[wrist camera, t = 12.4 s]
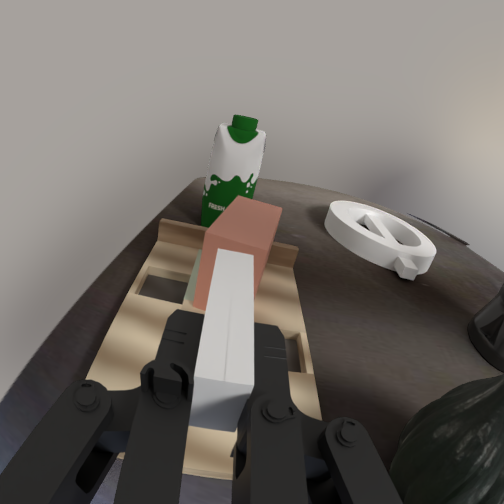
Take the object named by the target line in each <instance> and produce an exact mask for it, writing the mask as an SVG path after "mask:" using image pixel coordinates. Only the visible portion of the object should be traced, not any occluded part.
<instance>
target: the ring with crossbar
mask: <svg viewBox="0 0 504 504" xmlns="http://www.w3.org/2000/svg"><path fill="white" fill-rule="evenodd" d="M359 224H362V225H366V226H367V227H368V229H369V230H370V231H369V230H367V229H365V228H364V227H362V226H361V225H359ZM324 225H325V228H326V230H327V231H328V233H329V234H330V235H331V236H332V237H333V238H334V239H335V240H336V241H338V242H339V243H340V244H341V245H343V246H344V247H346V248H347V249H348V250H350V251H352V252H353V253H355V254H357V255H358V256H360V257H362V258H364V259H366V260H368V261H370V262H372V263H374V264H377V265H379V266H382V267H384V268H387V269H390V270H393V271H396V272H397V273H398V274H399V276H400V277H401V278H405V279H409V280H413V281H414V279H415V277H416V275H417V274H423V273H425V272H426V271H427V270H428V268H429V266H430V264H431V262H432V260H433V258H434V256H435V254H436V248H435V246H434V245H433V243H432V242H431V241H430V240H429V239H428V238H427V237H426V236H425V235H424V234H422V233H421V232H420V231H418V230H417V229H416V228H414V227H413V226H411V225H409V224H408V223H406V222H404V221H403V220H401V219H399V218H397V217H395V216H393V215H391V214H389V213H386V212H384V211H381V210H379V209H376V208H373V207H371V206H367V205H364V204H360V203H356V202H351V201H334V202H332V203H331V204H330V207H329V210H328V213H327V216H326V219H325V222H324ZM395 239H397V240H398V241H400V242H401V243H402V244H404V245H402V244H399V243H398V242H397V241H396V240H395Z"/></svg>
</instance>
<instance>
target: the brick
mask: <svg viewBox="0 0 504 504" xmlns="http://www.w3.org/2000/svg"><path fill="white" fill-rule="evenodd" d="M282 209H283V208H280V207H277V206H273V205H270V204H266V203H263V202H260V201H256V200H253V199H249V198H246V197H242V196H239V195H238V196H237V197H236V198H235V199H234V201H233V202H232V203H231V204H230V205H229V206H228V207H227V208H226V209H225V211H224V212H223V213H222V214H221V215H220V216H219V217H218V218H217V219H216V221H215V222H214V223H213V224H212V225H211V226H210V227H209V228H208V230H207V231H206V232H205V237H204V242H203V248H202V254H201V259H200V265H199V271H198V277H197V283H196V289H195V295H194V302H193V307H195V308H198V309H201V310H204V311H206V306H207V301H208V296H209V291H210V286H211V280H212V275H213V270H214V265H215V260H216V255H217V251H218V248H219V249H224V250H229V251H234V252H240V253H245V254H250V255H254V299H255V296H256V293H257V290H258V287H259V284H260V281H261V278H262V276H263V273H264V270H265V266H266V263H267V260H268V256H269V253H270V250H271V246H272V243H273V240H274V236H275V233H276V229H277V226H278V223H279V219H280V216H281V212H282Z"/></svg>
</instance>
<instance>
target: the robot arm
mask: <svg viewBox="0 0 504 504" xmlns="http://www.w3.org/2000/svg"><path fill="white" fill-rule="evenodd" d="M468 333H469V336H470V338H471V341H472V342H473V344H474V346H475V347H476V348H477V350H478V351H479V352H480V353H481V355H482V356H483V357H484V358H485V359H486V360H487V361H488V362H490V363H491V364H492V365H493V366H495V367H496V368H497V369H499V370H501V371H503V372H504V284H503V285H502V287H501V289H500V291H499V292H498V294H497V295H496V296H495V297H494V298H493V299H492V300H491V301H490V302H489V303H488V304H487V305H485V306H484V307H483V308H482V309H481V310H480V311H479V312H477V313H476V314H475V316H474V317H473V318H472V320H471V322H470V323H469V325H468ZM285 349H286V347H285V338H284V335H283V334H282V332H281V331H280V329H279V327H278V326H276V325H270V324H263V323H257V322H254V255H250V254H245V253H240V252H234V251H229V250H224V249H219V248H218V251H217V255H216V260H215V265H214V270H213V275H212V280H211V286H210V291H209V296H208V301H207V306H206V312H205V314H200V313H195V312H190V311H185V310H180V309H176V310H175V311H174V312H173V313H172V314H171V315H170V316H169V317H168V319H167V322H166V325H165V328H164V331H163V334H162V338H161V341H160V344H159V347H158V351H157V354H156V357H155V360H152V361H150V362H149V363H147V364H146V365H144V367H143V368H142V370H141V372H140V381H141V386H139V387H137V388H134V389H130V390H107V388H106V387H104V386H103V385H102V384H101V383H99V382H97V381H94V380H86V379H82V380H79V381H76V382H73V383H72V384H71V385H70V386H68V387H67V388H66V390H65V391H64V392H63V393H62V394H61V396H60V397H59V398H58V399H57V401H56V402H55V403H54V404H53V406H52V407H51V408H50V409H49V411H48V412H47V413H46V415H45V416H44V417H43V418H42V420H41V421H40V422H39V424H38V425H37V426H36V427H35V429H34V430H33V431H32V433H31V434H30V435H29V437H28V438H27V439H26V441H25V442H24V443H23V445H22V446H21V447H20V449H19V450H18V451H17V453H16V454H15V455H14V457H13V458H12V459H11V461H10V462H9V464H8V465H7V466H6V468H5V469H4V471H3V472H2V473H1V475H0V504H90V502H91V501H92V499H93V497H94V496H95V494H96V492H97V490H98V489H99V487H100V485H101V484H102V482H103V480H104V478H105V477H106V475H107V473H108V472H109V470H110V468H111V466H112V465H113V463H114V461H115V460H116V458H117V456H118V455H119V453H123V452H125V455H124V459H123V463H122V467H121V472H120V476H119V481H118V485H117V490H116V494H115V499H114V504H179V496H180V487H181V479H182V471H183V463H184V456H185V448H186V441H187V433H188V427H189V426H194V427H200V428H206V429H212V430H220V431H227V432H235V431H236V429H237V440H236V442H235V445H234V447H233V449H232V451H231V454H230V457H233V478H232V504H403V503H402V501H401V499H400V496H399V494H398V492H397V490H396V488H395V486H394V484H393V482H392V480H391V478H390V476H389V474H388V472H387V470H386V468H385V466H384V464H383V462H382V460H381V458H380V456H379V454H378V452H377V450H376V448H375V446H374V444H373V442H372V440H371V438H370V436H369V434H368V432H367V430H366V429H365V428H364V426H363V425H362V424H361V423H359V422H358V421H356V420H355V419H352V418H348V417H339V418H336V419H334V420H332V421H331V422H330V423H328V422H325V421H321V420H318V419H315V418H312V417H310V416H308V415H305V414H304V413H303V412H301V411H300V410H299V409H298V408H297V406H296V405H295V404H294V403H293V401H292V398H291V394H290V384H289V375H288V365H287V360H286V358H287V356H286V351H285Z"/></svg>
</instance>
